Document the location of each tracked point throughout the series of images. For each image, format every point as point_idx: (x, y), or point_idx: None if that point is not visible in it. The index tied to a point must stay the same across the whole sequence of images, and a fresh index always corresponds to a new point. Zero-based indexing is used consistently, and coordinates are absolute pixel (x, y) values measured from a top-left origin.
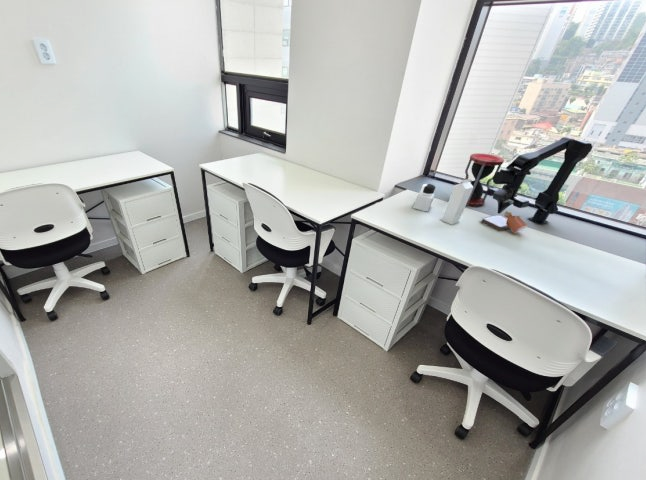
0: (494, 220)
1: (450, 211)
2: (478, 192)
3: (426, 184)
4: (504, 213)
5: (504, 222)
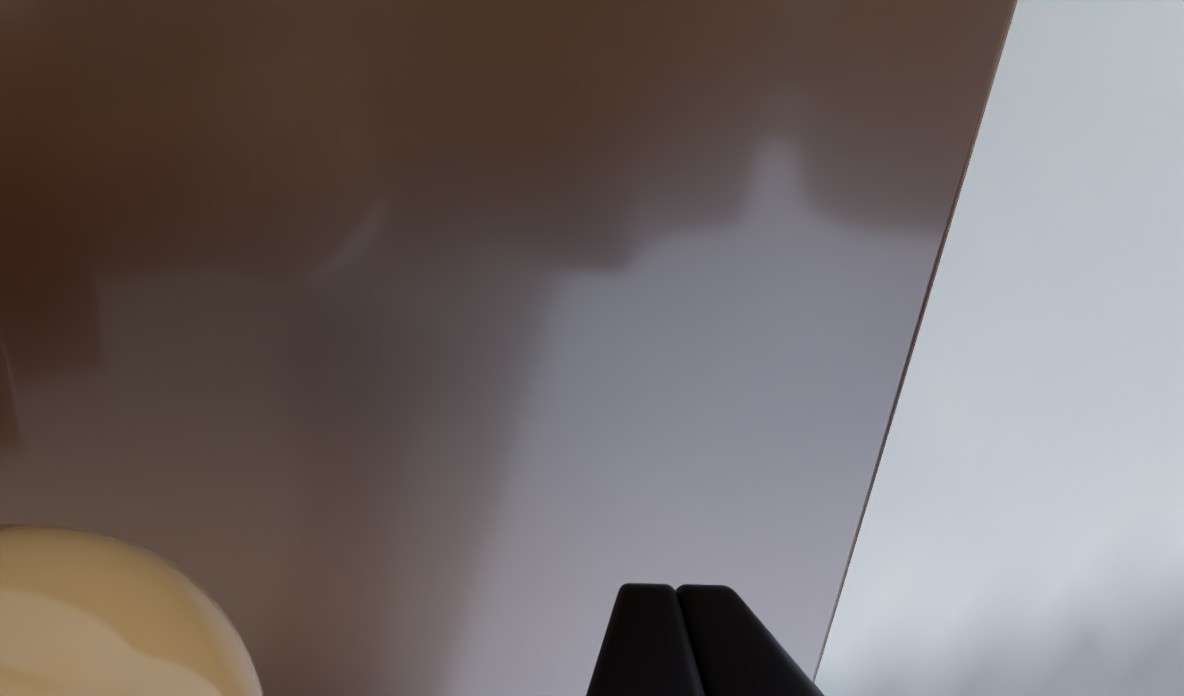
0: (561, 185)
1: None
2: None
3: None
4: (185, 684)
5: (206, 434)
